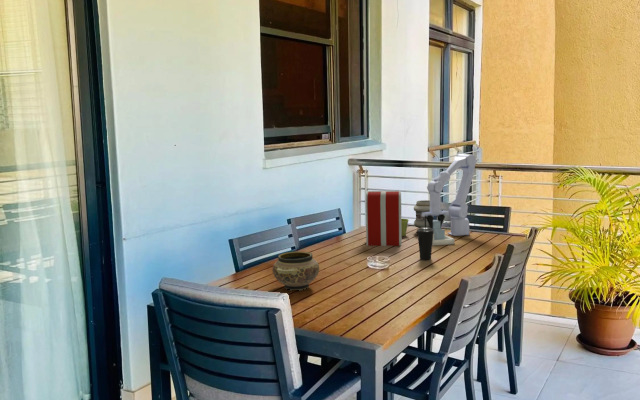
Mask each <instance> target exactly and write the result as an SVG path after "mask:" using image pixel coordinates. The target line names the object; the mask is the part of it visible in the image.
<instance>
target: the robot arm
mask: <svg viewBox="0 0 640 400" xmlns="http://www.w3.org/2000/svg"><path fill="white" fill-rule="evenodd" d="M476 164H477V159H476V156H475V155H474V154H472V153H471V154H468V153H467V154H466V153H458V154H456V156H455V157H454V158H453V161H452V162H451V164H450V165H449V166H448V167H447V169H445V170H444V171H440V172H439V174H437V176H436V177H435V178H434V179H433V180H431V181H429V182H428V184H427V186H426V189H427V191H428V195H429V200H430V212H424V213H422V217H425V216H426V219H427V221H428V223H429V226H430V228H432V229H433V219H434V217H436V216H437V220H438V221H440V225H441V227H442V225H443V222H444V220H445V218H446V216H449V218H450V232H448V231H447V234H448V235H451V236H455V237H456V236H459V237H460V236H470V220H469V219H468V217H467V215H468V209H469V205H468V204H467V203H466V201H467V198H468V195H469V191H470V188H471V185H472V181H473V179H474V175H475V170H476V169H475V168H476ZM459 168H460V170H461V171H462V177H461V180H460V184H459V187H458V190H457V193H456V197H455V199H454V200H453V201H452V202H451V203H450V205H449V206H448V208H447V210H442V209H441V208H442V205H441V204H442V203H441V198H442V197H441V193H442V191H443V190H444V187H445V185H446V183H447V182H448V181H450V179H451V176H452V174H454V173H455V172H456V171H457V170H458V169H459ZM432 216H433V217H432Z"/></svg>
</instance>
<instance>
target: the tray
mask: <svg viewBox="0 0 640 400" xmlns="http://www.w3.org/2000/svg"><path fill="white" fill-rule="evenodd" d="M443 245H444V246H445V245H447V246H448V245H455V238H453V237H451V236H448V235H447V234H445V239H442V240H434V233H433V242H432V247H433V246H443Z"/></svg>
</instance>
